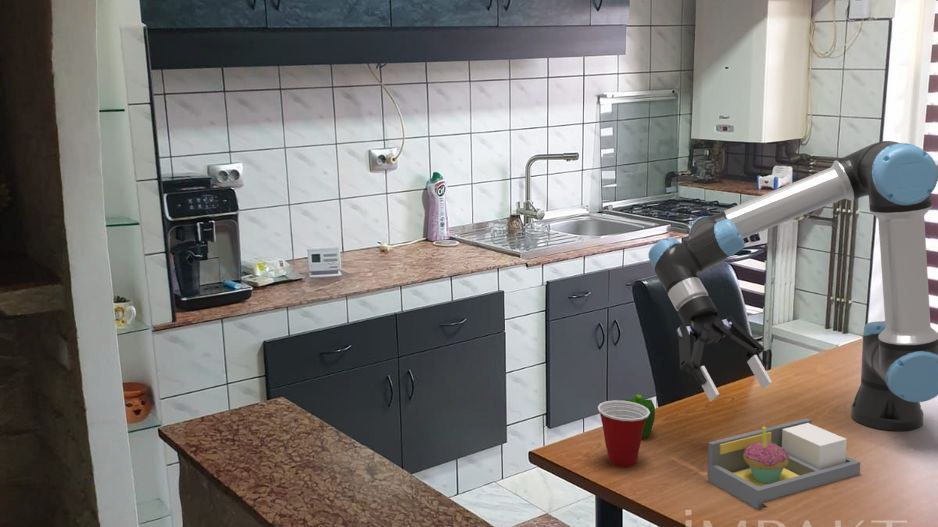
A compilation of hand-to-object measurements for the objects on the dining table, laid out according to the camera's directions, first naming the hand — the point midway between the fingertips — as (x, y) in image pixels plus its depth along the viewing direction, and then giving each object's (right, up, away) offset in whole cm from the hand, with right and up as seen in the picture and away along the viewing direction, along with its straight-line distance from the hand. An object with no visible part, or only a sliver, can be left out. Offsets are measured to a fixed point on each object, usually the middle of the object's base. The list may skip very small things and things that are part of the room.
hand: (741, 391), depth 178 cm
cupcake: (+4, -17, -3) cm, 17 cm away
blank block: (+15, -15, +1) cm, 21 cm away
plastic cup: (-22, -16, +10) cm, 29 cm away
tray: (+8, -17, -1) cm, 19 cm away
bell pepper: (-16, -13, +24) cm, 32 cm away
